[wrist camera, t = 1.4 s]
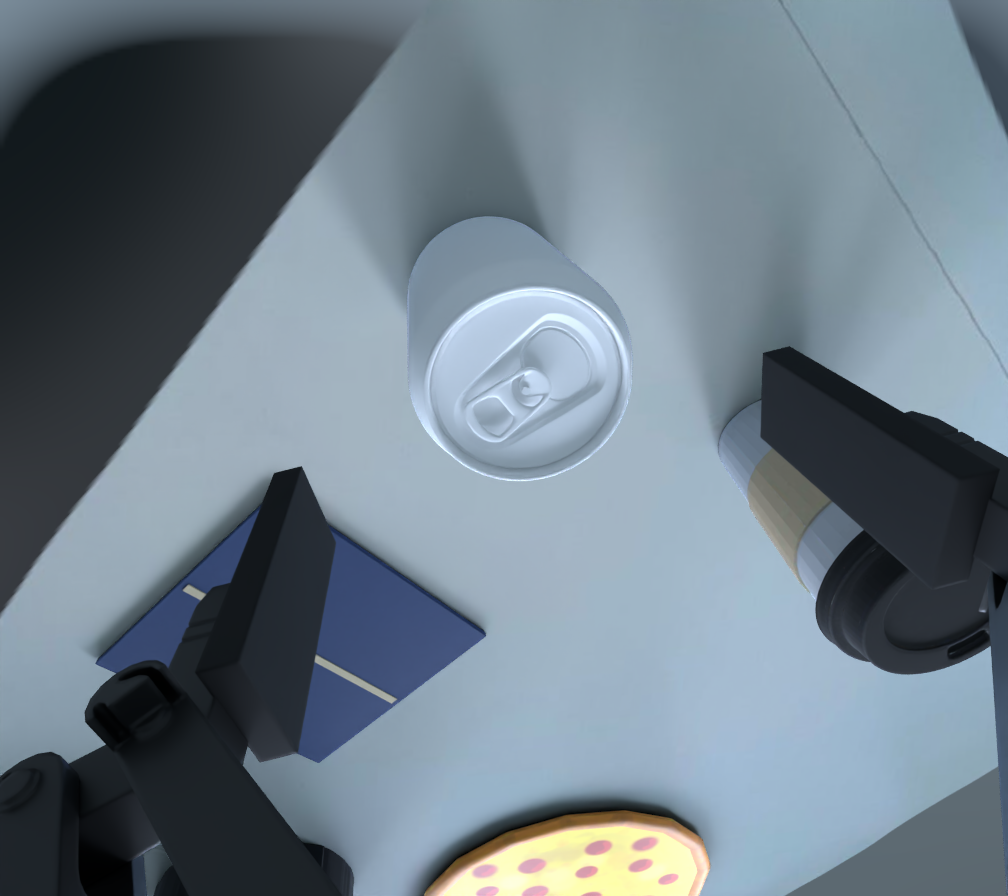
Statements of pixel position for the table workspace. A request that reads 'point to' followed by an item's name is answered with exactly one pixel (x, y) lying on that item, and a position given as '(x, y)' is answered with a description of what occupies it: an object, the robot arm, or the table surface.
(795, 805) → the table surface
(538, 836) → the pizza
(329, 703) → the napkin
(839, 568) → the coffee cup
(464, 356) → the beverage can
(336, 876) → the black round tub
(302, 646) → the robot arm
